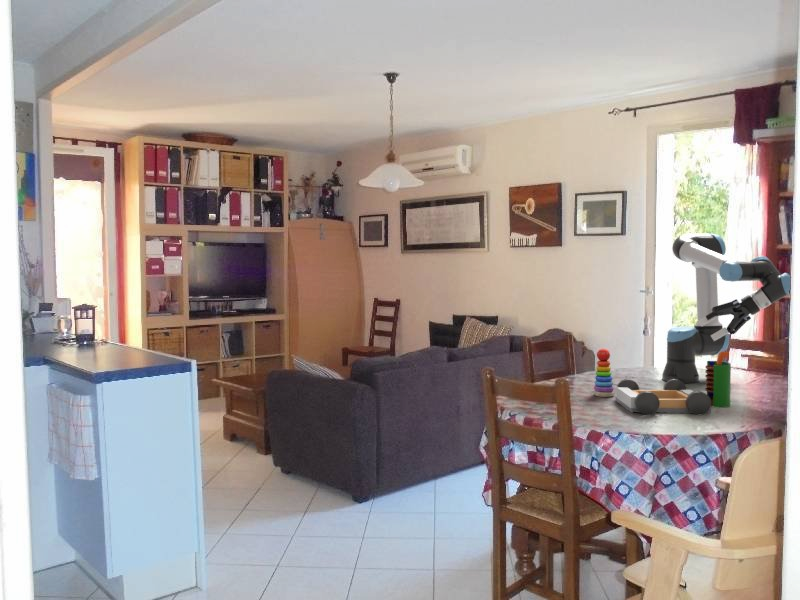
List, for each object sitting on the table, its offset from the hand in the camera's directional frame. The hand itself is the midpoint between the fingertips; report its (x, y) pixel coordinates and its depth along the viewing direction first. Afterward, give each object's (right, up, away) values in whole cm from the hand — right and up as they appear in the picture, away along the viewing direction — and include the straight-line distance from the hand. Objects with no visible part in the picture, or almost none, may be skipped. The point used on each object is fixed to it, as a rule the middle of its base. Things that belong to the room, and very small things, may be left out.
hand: (706, 331), depth 287 cm
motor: (-4, -27, -19) cm, 33 cm away
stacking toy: (-42, -26, -2) cm, 49 cm away
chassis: (-26, -27, -22) cm, 43 cm away
